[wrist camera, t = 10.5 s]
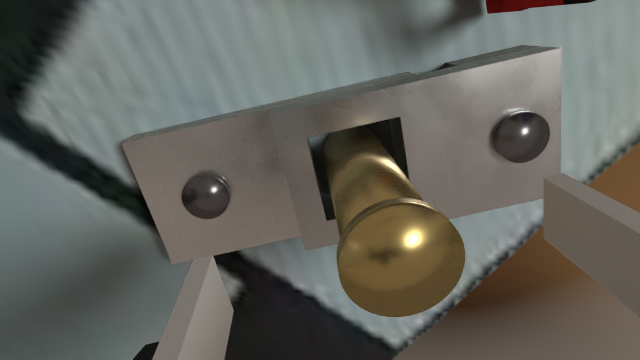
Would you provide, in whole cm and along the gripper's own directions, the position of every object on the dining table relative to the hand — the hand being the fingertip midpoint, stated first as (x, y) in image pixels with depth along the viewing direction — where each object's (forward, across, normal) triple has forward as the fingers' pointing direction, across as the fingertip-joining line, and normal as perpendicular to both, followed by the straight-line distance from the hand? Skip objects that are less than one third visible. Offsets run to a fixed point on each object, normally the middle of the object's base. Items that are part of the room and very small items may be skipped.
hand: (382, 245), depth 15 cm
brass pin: (+13, +1, 0) cm, 13 cm away
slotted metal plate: (+13, +1, 0) cm, 13 cm away
